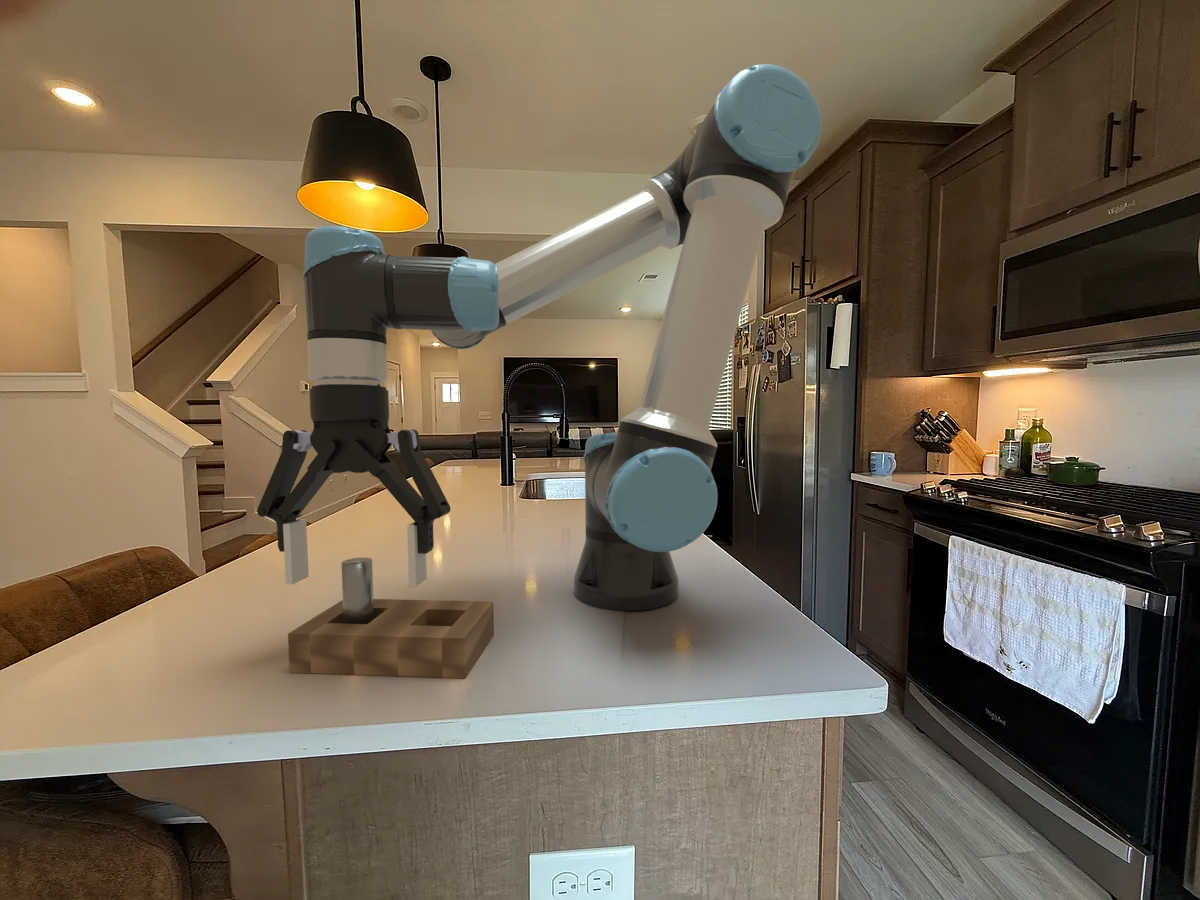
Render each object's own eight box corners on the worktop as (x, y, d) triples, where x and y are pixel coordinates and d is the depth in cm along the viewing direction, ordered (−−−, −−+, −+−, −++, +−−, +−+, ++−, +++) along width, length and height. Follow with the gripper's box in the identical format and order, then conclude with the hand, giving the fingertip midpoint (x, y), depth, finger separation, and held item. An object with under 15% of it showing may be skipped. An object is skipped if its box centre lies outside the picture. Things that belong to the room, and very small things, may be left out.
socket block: (493, 635, 60) (493, 601, 60) (464, 678, 50) (464, 638, 50) (346, 631, 61) (345, 598, 61) (289, 672, 51) (287, 633, 51)
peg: (380, 645, 57) (377, 557, 57) (366, 658, 55) (362, 565, 54) (354, 644, 58) (351, 557, 57) (339, 657, 55) (335, 565, 54)
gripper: (476, 385, 57) (480, 573, 58) (263, 387, 59) (272, 569, 60) (451, 380, 50) (457, 595, 51) (209, 383, 51) (220, 591, 53)
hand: (357, 582), depth 56 cm, fingers open, 13 cm apart
